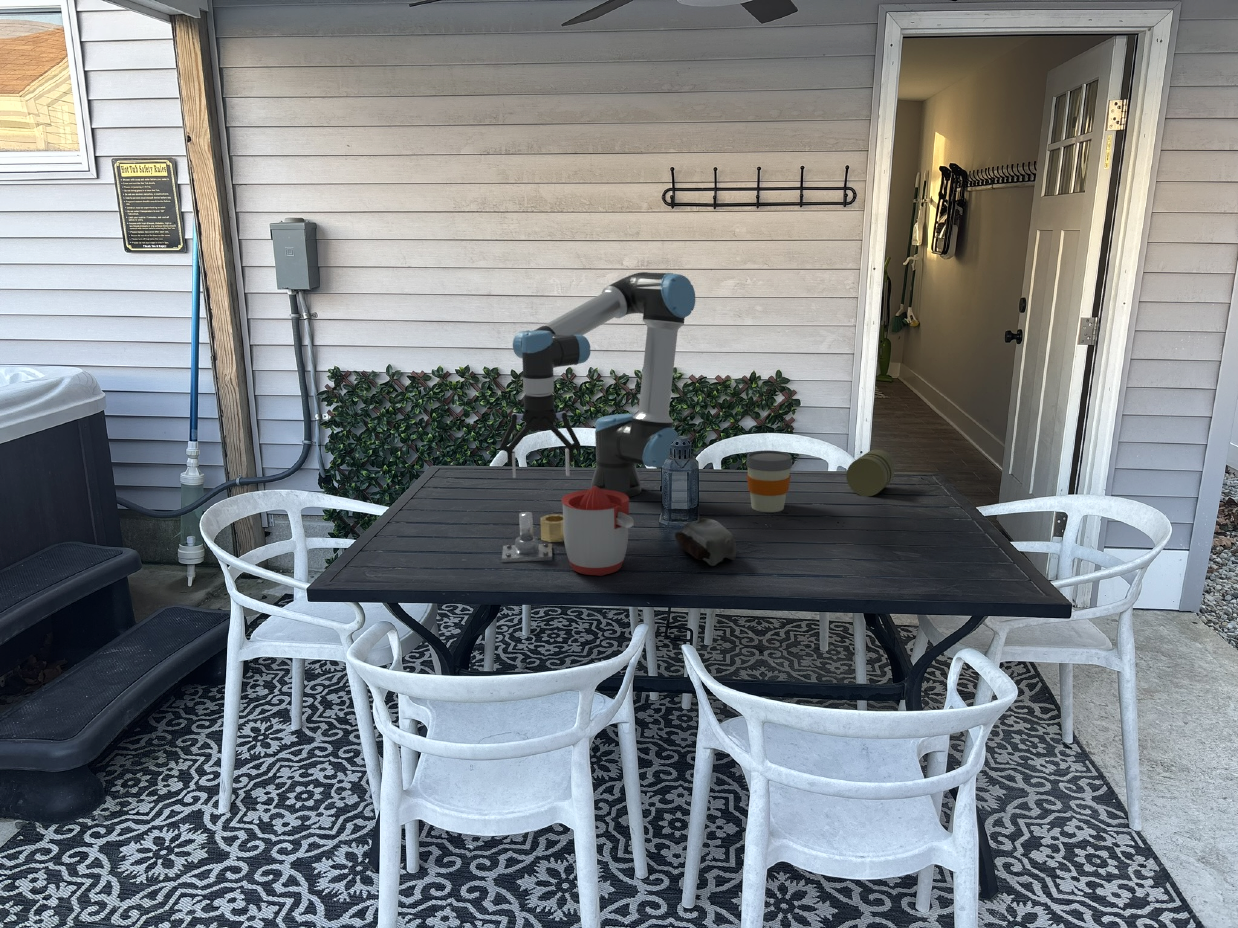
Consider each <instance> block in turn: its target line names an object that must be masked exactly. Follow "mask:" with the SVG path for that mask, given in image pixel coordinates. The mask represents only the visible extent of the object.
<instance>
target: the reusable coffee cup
mask: <svg viewBox="0 0 1238 928" xmlns="http://www.w3.org/2000/svg"><path fill="white" fill-rule="evenodd" d="M745 464H746V465H745V466H746V467H747V474H746V479H747V489H748V492H750V493H749V494H750V502H751V503H750V504H751V508H752V509H753V510H755V511H757V512H761V513H776V512H777V513H778V512H781V511H783V510H784V508H785V503H786V498H787V497H786V496H787V493H788V492H789V488H790V484H791V483H790V481H791V474H790V473H791V468H793V467H792V466H793V464H792V455H791V454H790V453H788V452H784V451H779V450H757V451H756V450H755V451H752V452H749V453H747V456H746V463H745Z"/></svg>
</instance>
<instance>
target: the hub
mask: <svg viewBox="0 0 1238 928" xmlns="http://www.w3.org/2000/svg"><path fill="white" fill-rule="evenodd" d="M539 518H540V539H541V540H542V541H544V542H546V543H559V542H560V543H561V542H562V543H563V542H564V530H563V514H561V513H559V514H557V513H556V514H554V513H553V514H547V515H544V516H541V517H539Z"/></svg>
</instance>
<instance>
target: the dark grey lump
mask: <svg viewBox="0 0 1238 928" xmlns="http://www.w3.org/2000/svg"><path fill="white" fill-rule="evenodd" d="M674 538H675V540H676V542H677V544H678V546H679V548H680V549H682V551H684V552H685V553H688V554H690V555H691V556H692V557H693V558H694V559H696V560H700V561H701V560H703V561H704V562H706V563H707V564H708V565H710V566H711V567H714V566H716V565H717V564H719V563H720V562H723V561H724V559H726V558H727V559H728V560H732V561H733V560H735V559H736V556H737V545H736V540H735V537H734V535H733V533H732V532H730V531H729V530H728V529H727V528H726V527H725V526H723V525H722V524H721V523H720V522H719V521H717V520H714V519H712V518H707V517H704V518H701V519H699V520H698V521H695V522H691V521H690V522H687V523H686V524H684V526H683V529H681V530H678V531H676V532H675V533H674Z"/></svg>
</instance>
